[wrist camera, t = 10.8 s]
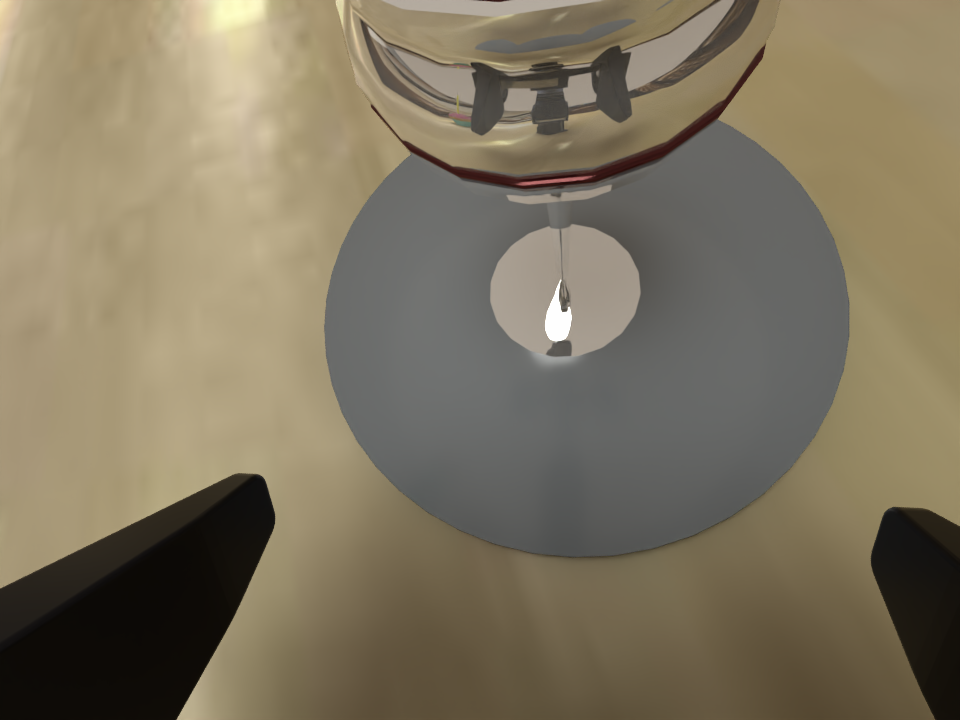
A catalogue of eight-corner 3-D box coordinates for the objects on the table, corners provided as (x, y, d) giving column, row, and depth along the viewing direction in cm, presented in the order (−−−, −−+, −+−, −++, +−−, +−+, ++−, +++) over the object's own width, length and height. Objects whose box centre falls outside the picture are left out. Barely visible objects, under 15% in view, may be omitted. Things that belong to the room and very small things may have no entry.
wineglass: (518, 180, 19) (440, -330, 8) (701, 238, 17) (932, -339, 6) (428, 334, 18) (178, -37, 7) (618, 420, 16) (724, 86, 4)
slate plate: (939, 232, 17) (955, 217, 16) (637, 696, 14) (641, 704, 13) (519, 52, 23) (517, 35, 22) (245, 350, 20) (232, 342, 19)
